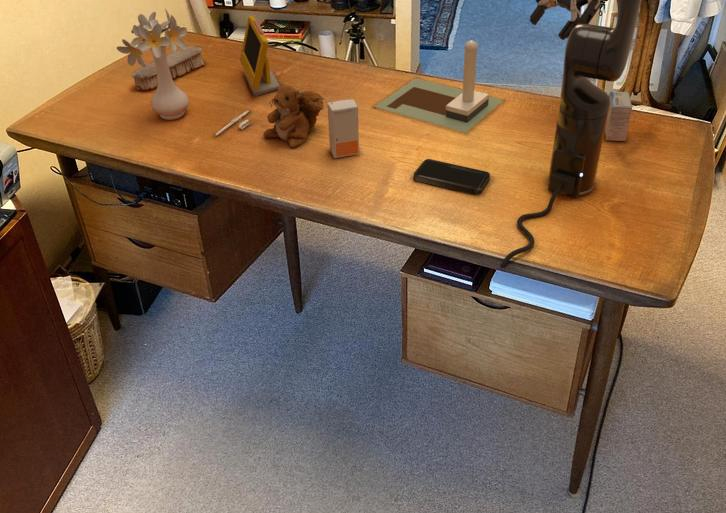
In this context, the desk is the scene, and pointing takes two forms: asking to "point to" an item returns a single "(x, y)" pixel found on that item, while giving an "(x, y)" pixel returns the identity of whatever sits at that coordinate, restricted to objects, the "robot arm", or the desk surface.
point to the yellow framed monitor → (257, 59)
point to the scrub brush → (468, 90)
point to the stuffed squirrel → (293, 114)
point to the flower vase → (159, 61)
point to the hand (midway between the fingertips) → (546, 30)
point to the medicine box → (618, 116)
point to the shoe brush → (177, 66)
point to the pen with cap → (241, 126)
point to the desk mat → (431, 104)
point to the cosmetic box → (343, 128)
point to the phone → (452, 176)
